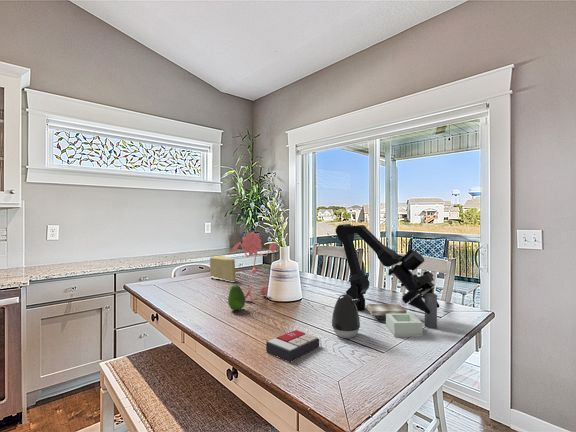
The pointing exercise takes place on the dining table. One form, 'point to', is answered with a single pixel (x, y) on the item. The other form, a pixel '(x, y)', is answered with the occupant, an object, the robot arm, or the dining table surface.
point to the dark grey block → (431, 310)
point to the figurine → (251, 246)
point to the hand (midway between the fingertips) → (434, 310)
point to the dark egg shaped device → (346, 317)
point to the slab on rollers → (384, 310)
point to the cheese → (222, 267)
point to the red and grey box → (292, 345)
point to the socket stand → (403, 325)
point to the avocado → (236, 298)
